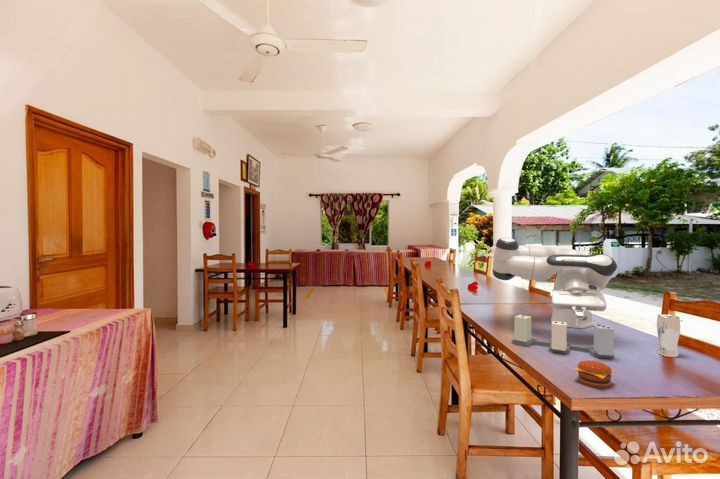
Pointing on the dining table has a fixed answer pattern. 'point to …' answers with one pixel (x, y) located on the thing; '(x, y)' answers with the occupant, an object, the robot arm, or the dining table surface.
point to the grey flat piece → (569, 347)
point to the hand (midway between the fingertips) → (579, 317)
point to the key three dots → (603, 340)
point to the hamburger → (594, 374)
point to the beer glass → (668, 334)
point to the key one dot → (522, 328)
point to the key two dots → (559, 335)
